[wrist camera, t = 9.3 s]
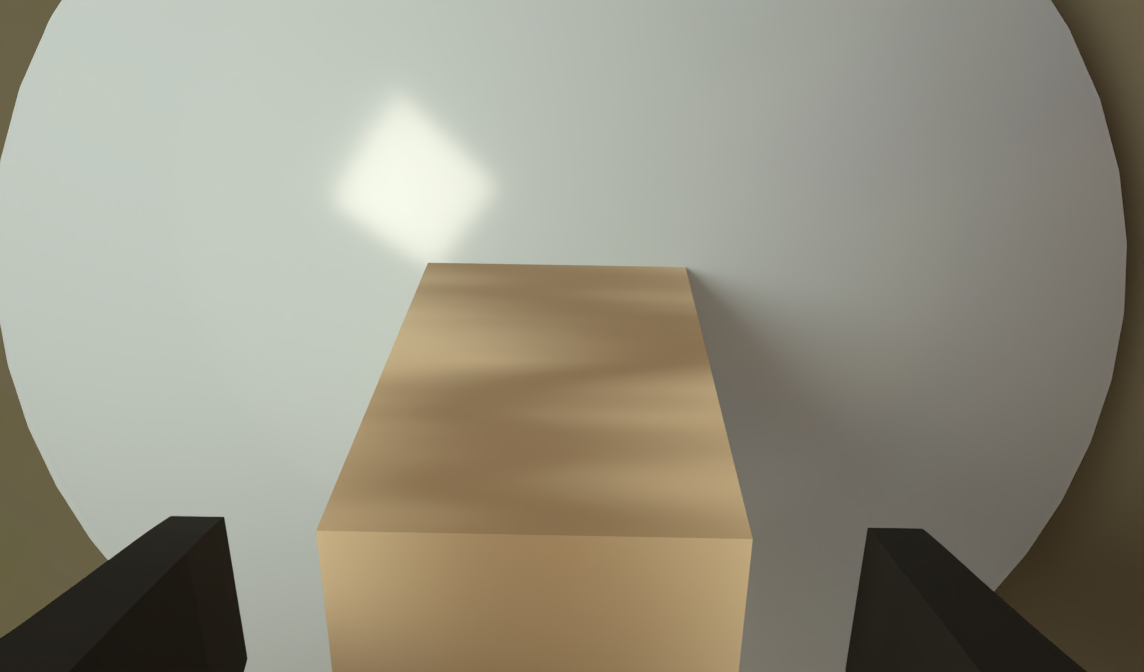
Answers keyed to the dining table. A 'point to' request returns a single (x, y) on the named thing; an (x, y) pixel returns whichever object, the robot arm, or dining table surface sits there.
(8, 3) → the dining table surface
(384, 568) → the block
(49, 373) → the dish
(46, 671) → the robot arm
